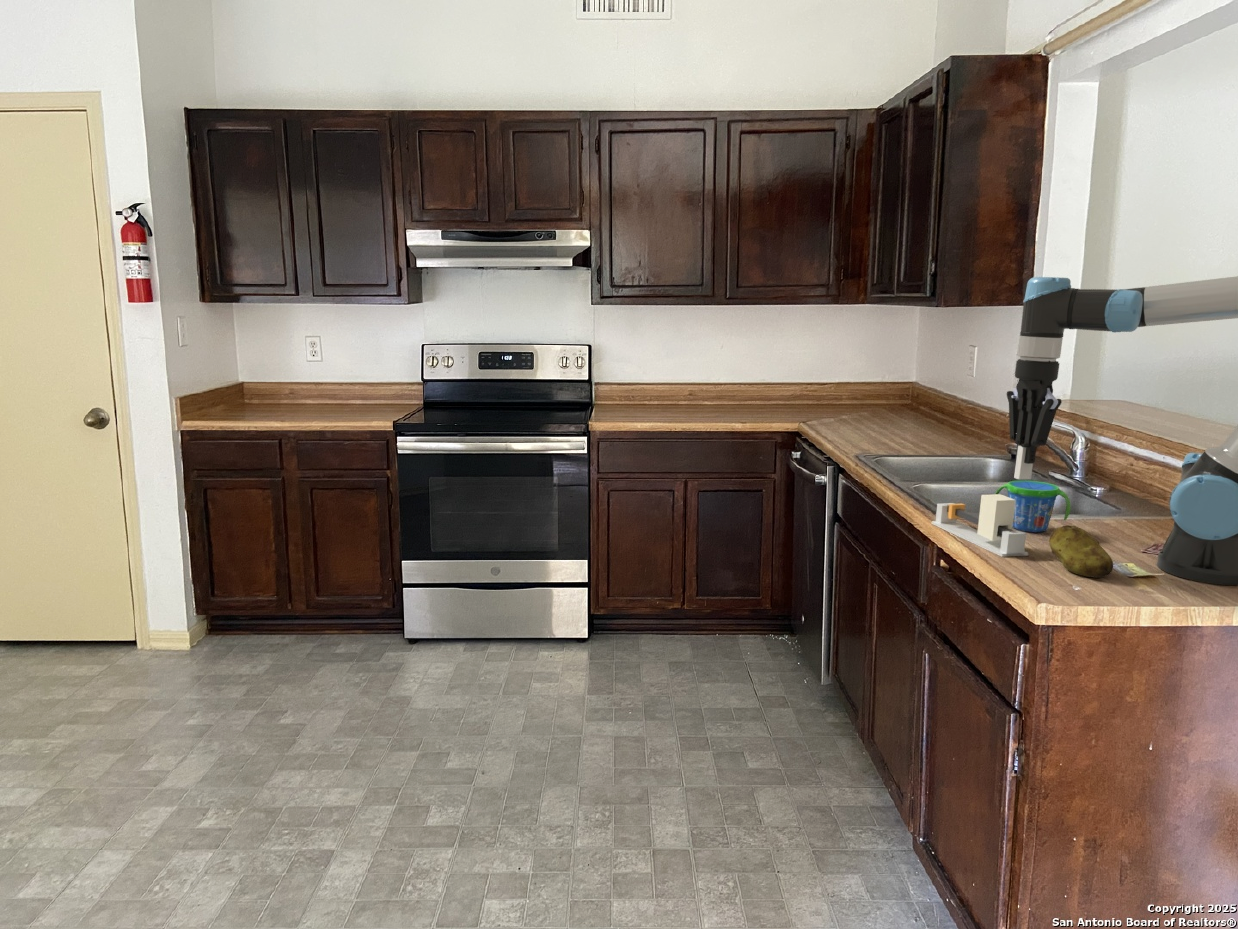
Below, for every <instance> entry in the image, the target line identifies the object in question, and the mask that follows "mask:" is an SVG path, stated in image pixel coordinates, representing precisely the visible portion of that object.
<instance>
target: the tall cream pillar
mask: <svg viewBox="0 0 1238 929" xmlns="http://www.w3.org/2000/svg"><path fill="white" fill-rule="evenodd" d="M1015 502H1016V500H1014V499H1012V498H1009V497H1008V496H1006V495H1003V494H1001V493H998V494H995V493H994V494H981V497H980V506H979V515H978V516H979V523H978V525H977V530H978V532H977V534H978V535H981V536H983V537H985V538H987V539H989V540H992V541H998V540H1002V535H1000V534H997V532H998V526H1000V525H1001V526H1004V527H1006V528H1008V529H1011V530H1013V519H1014V510H1015Z"/></svg>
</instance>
